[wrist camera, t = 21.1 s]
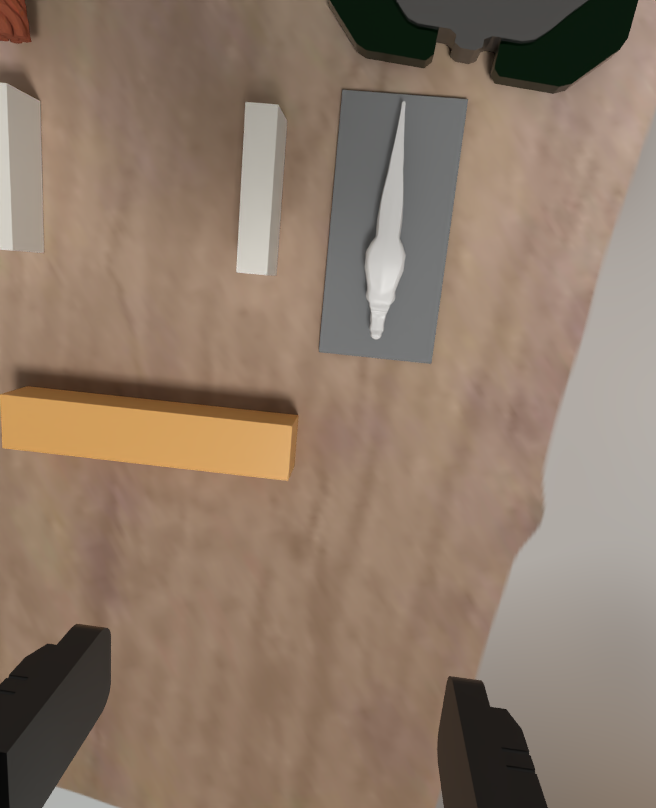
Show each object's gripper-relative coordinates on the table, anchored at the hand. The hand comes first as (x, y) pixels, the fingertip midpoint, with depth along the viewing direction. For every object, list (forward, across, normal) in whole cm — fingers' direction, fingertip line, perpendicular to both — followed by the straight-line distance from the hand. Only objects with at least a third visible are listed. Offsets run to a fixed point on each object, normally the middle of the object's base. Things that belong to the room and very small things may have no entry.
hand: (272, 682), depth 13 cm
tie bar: (+28, +14, +3) cm, 32 cm away
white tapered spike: (+28, -2, -13) cm, 31 cm away
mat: (+28, -2, -12) cm, 31 cm away
